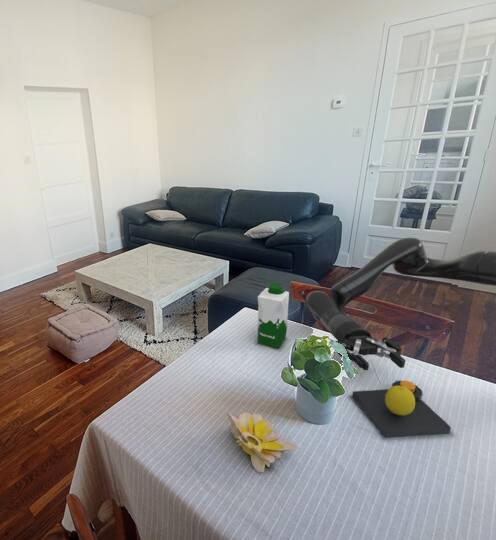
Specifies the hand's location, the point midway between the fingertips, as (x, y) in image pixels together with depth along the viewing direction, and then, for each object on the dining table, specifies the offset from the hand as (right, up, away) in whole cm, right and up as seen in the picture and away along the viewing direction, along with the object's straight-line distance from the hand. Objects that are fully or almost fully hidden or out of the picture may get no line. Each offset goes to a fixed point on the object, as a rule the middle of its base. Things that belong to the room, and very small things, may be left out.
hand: (385, 366), depth 83 cm
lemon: (+1, -11, -3) cm, 11 cm away
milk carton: (-14, -1, +33) cm, 37 cm away
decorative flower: (-33, -18, -6) cm, 38 cm away
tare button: (+7, -7, +2) cm, 10 cm away
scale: (+3, -12, 0) cm, 12 cm away
